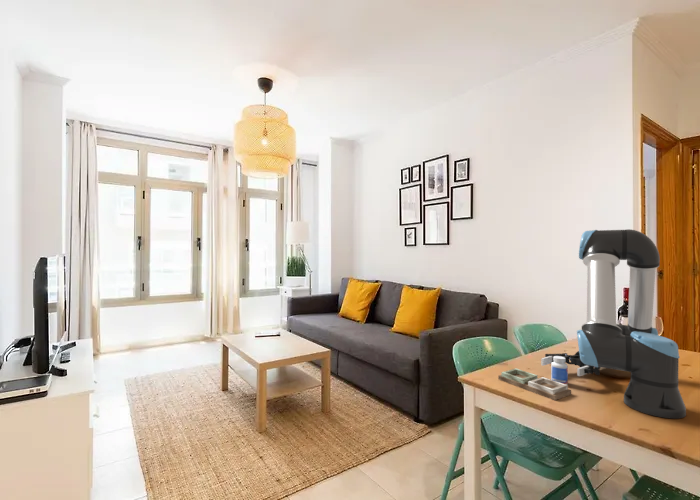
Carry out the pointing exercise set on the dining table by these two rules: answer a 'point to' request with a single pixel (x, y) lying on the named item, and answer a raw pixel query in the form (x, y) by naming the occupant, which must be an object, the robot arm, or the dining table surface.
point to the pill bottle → (559, 370)
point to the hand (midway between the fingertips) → (559, 367)
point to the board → (535, 384)
